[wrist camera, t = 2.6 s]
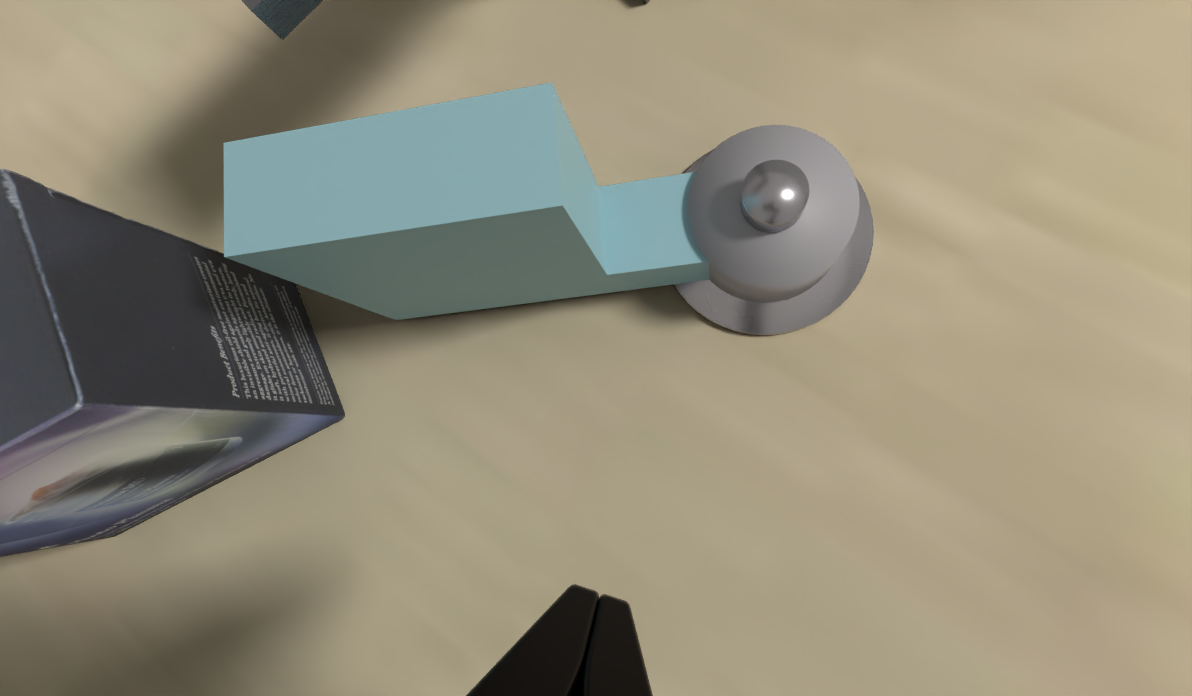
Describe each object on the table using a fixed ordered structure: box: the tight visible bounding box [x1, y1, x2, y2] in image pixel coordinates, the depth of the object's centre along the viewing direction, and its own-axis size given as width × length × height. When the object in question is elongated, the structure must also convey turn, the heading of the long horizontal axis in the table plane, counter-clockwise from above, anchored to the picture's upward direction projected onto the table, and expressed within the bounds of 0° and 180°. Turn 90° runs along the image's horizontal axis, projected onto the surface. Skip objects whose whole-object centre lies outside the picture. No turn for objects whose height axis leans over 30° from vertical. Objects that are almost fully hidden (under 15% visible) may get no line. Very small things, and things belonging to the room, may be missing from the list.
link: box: [224, 83, 860, 320], centre depth 18 cm, size 15×5×8 cm, turn 95°
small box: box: [0, 169, 345, 557], centre depth 19 cm, size 11×6×10 cm, turn 116°
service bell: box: [674, 149, 873, 335], centre depth 20 cm, size 7×7×4 cm
